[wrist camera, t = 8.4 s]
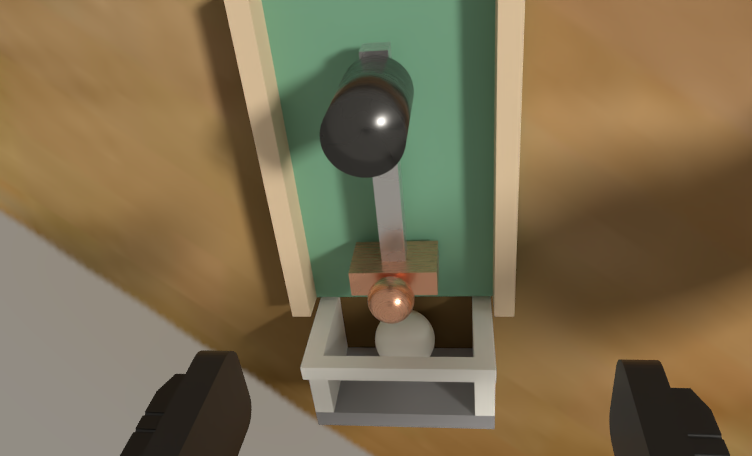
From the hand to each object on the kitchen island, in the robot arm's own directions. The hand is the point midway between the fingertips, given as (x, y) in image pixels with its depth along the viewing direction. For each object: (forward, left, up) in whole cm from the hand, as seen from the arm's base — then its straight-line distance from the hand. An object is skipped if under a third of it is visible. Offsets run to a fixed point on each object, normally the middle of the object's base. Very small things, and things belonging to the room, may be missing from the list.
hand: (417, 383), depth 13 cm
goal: (+3, +18, -23) cm, 30 cm away
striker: (+3, +6, -21) cm, 22 cm away
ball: (+3, +18, -21) cm, 28 cm away
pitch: (+3, +5, -23) cm, 24 cm away
